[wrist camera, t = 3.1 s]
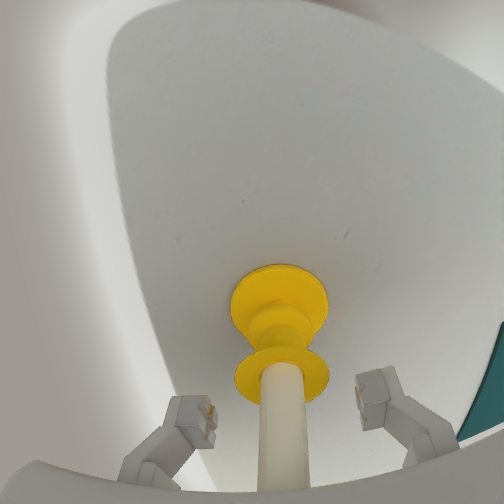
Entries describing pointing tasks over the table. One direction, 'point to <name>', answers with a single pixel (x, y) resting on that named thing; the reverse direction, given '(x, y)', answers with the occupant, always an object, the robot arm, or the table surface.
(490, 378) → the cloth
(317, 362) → the candle
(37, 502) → the robot arm
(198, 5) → the table surface
